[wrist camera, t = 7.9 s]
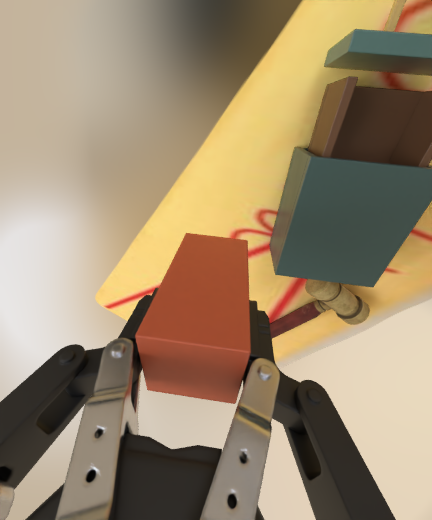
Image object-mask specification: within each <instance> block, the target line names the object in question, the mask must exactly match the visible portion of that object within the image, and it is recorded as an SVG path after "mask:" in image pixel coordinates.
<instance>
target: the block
mask: <svg viewBox="0 0 432 520" xmlns="http://www.w3.org/2000/svg"><path fill="white" fill-rule="evenodd" d="M135 338H136V342H137V347H138V351H139V355H140V360H141V364H142V368H143V372H144V377H145V381H146V386H147V390H150V391H156V392H163V393H169V394H175V395H182V396H188V397H194V398H201V399H208V400H213V401H220V402H226V403H233V404H235V403H236V400H237V397H238V393H239V390H240V387H241V383H242V380H243V377H244V373H245V370H246V367H247V363H248V360H249V356H250V353H251V343H250V309H249V275H248V242H247V240H240V239H231V238H223V237H215V236H207V235H198V234H190V233H186V235H185V237H184V239H183V241H182V243H181V245H180V247H179V249H178V251H177V253H176V255H175V257H174V259H173V261H172V263H171V265H170V267H169V269H168V271H167V273H166V275H165V277H164V279H163V281H162V283H161V285H160V287H159V289H158V291H157V293H156V295H155V297H154V299H153V301H152V303H151V305H150V307H149V309H148V311H147V313H146V315H145V317H144V319H143V321H142V323H141V325H140V327H139V329H138V331H137V333H136V335H135Z"/></svg>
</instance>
